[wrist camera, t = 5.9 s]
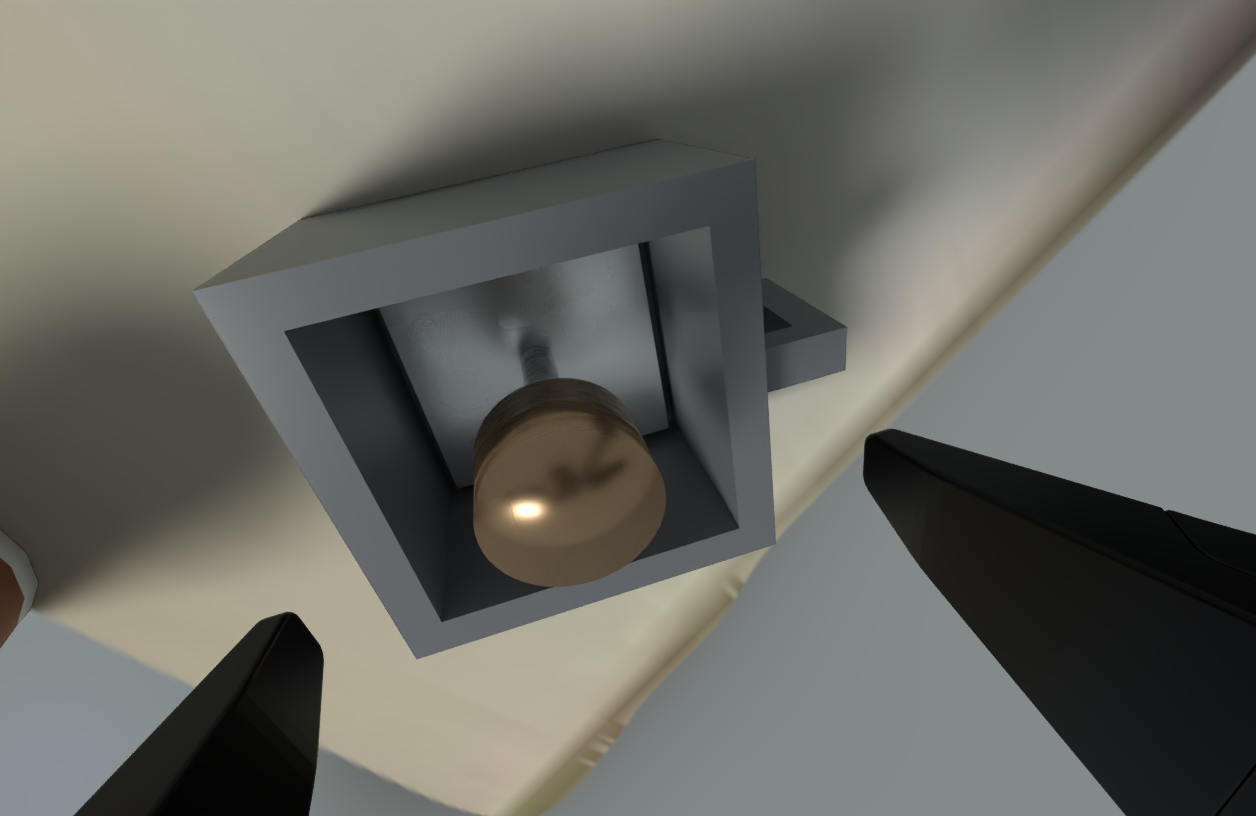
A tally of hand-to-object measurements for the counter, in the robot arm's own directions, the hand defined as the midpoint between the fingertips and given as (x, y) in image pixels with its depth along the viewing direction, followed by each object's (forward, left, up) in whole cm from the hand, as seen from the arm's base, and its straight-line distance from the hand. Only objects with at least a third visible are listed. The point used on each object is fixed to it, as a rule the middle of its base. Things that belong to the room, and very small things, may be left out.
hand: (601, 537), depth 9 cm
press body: (-1, +1, -11) cm, 11 cm away
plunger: (0, +1, -10) cm, 10 cm away
